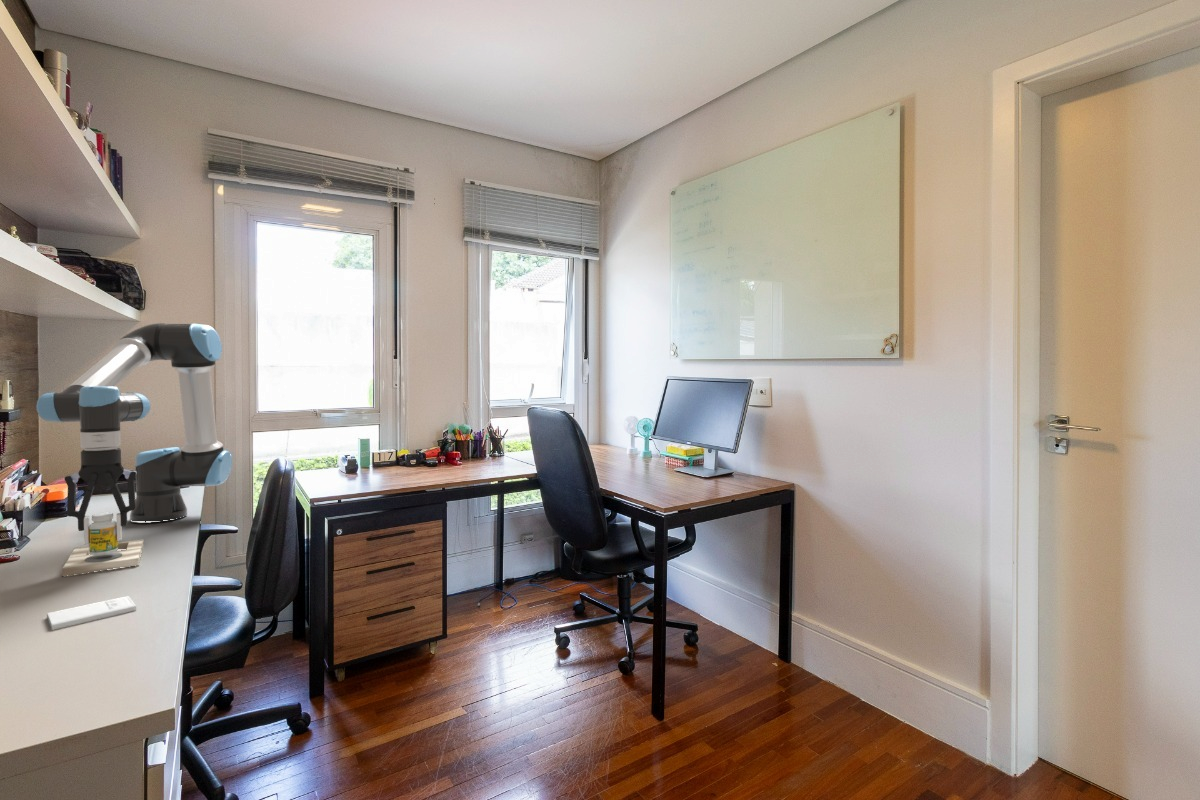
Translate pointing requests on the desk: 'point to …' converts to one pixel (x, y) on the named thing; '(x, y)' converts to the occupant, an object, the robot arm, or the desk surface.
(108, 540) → the supplement bottle
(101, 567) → the puzzle board
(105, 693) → the desk surface
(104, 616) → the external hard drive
